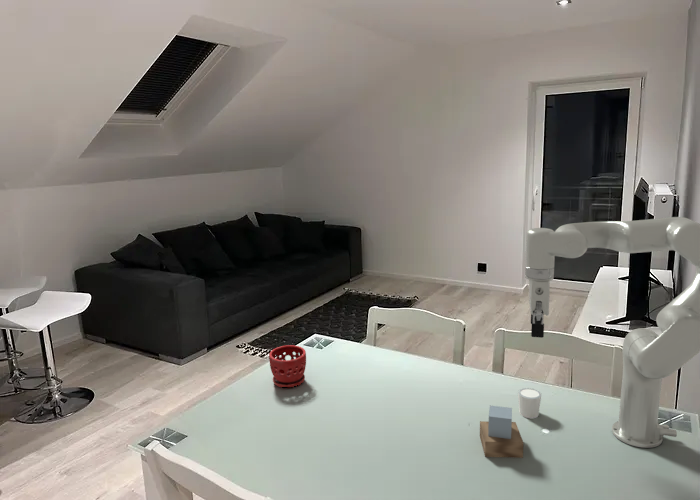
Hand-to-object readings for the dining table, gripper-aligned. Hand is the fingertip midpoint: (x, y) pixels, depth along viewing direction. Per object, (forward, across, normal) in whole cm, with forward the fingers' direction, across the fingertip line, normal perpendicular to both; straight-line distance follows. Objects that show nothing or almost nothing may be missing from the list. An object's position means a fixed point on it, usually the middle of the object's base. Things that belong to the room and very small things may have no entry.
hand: (536, 330), depth 148 cm
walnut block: (+31, -13, +9) cm, 34 cm away
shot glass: (+31, +7, +1) cm, 31 cm away
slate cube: (+26, -13, +9) cm, 30 cm away
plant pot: (+31, +8, +83) cm, 89 cm away
